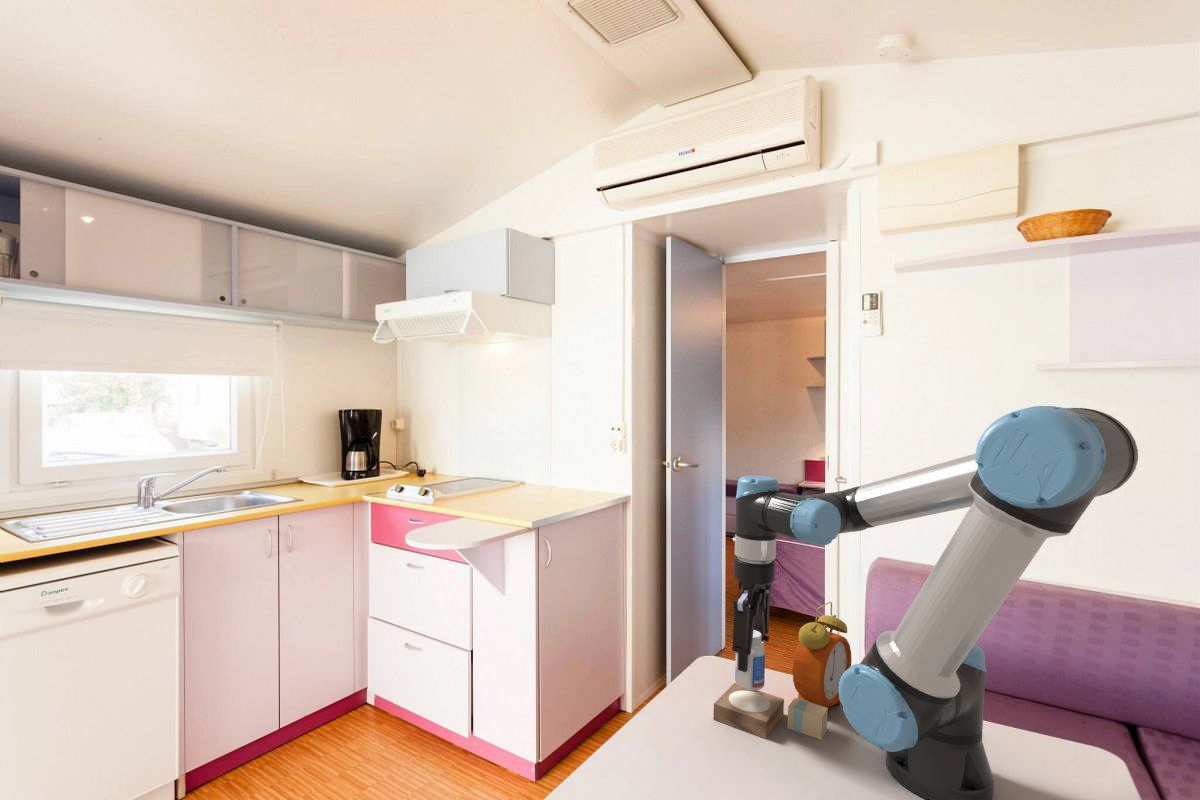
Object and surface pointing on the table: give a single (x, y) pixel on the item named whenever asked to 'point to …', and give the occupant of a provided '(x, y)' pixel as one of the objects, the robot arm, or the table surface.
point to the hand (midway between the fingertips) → (749, 679)
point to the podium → (749, 710)
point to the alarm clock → (821, 660)
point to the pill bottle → (756, 662)
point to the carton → (807, 718)
